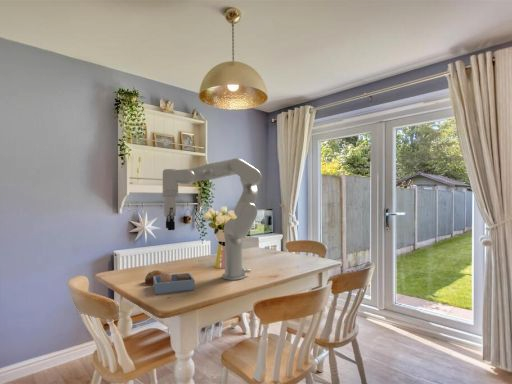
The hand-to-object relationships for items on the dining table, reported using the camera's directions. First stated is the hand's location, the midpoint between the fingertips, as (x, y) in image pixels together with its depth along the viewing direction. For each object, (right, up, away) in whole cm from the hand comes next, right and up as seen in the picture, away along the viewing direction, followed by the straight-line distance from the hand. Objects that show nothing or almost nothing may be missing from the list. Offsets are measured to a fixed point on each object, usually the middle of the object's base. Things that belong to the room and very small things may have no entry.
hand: (170, 228), depth 151 cm
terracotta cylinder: (0, -27, -7) cm, 28 cm away
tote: (+3, -28, -5) cm, 29 cm away
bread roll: (-8, -28, +4) cm, 30 cm away
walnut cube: (+7, -27, -3) cm, 29 cm away
